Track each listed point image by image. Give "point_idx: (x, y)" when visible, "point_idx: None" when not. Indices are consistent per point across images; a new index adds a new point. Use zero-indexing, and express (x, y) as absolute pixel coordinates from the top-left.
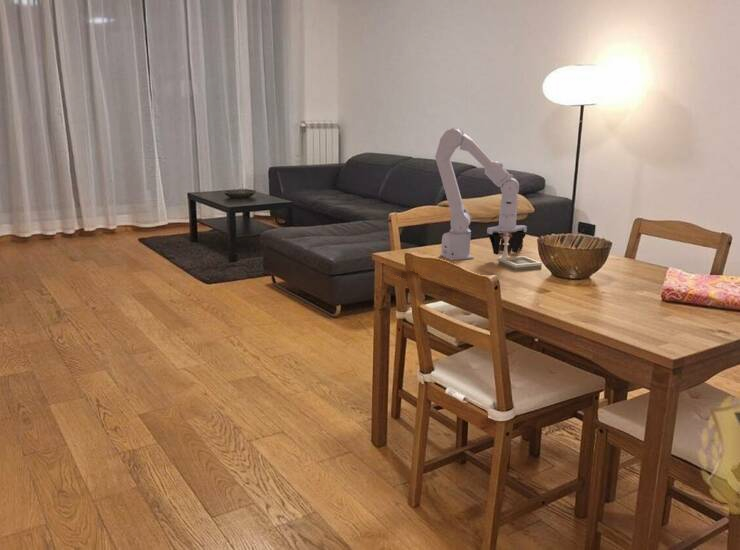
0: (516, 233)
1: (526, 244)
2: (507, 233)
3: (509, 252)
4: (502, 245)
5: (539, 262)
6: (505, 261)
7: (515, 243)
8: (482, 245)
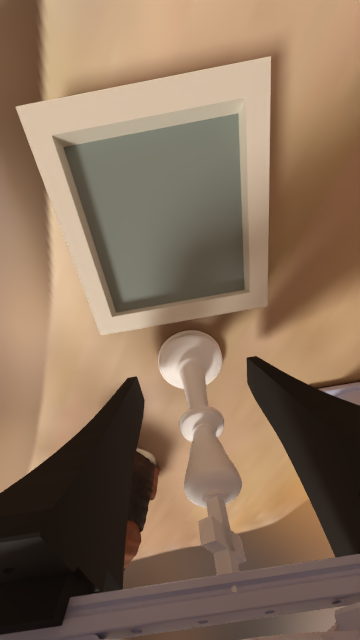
0: (89, 557)
1: None
2: (218, 551)
3: None
4: (145, 488)
5: (35, 123)
6: (266, 232)
7: (124, 434)
8: (180, 515)
